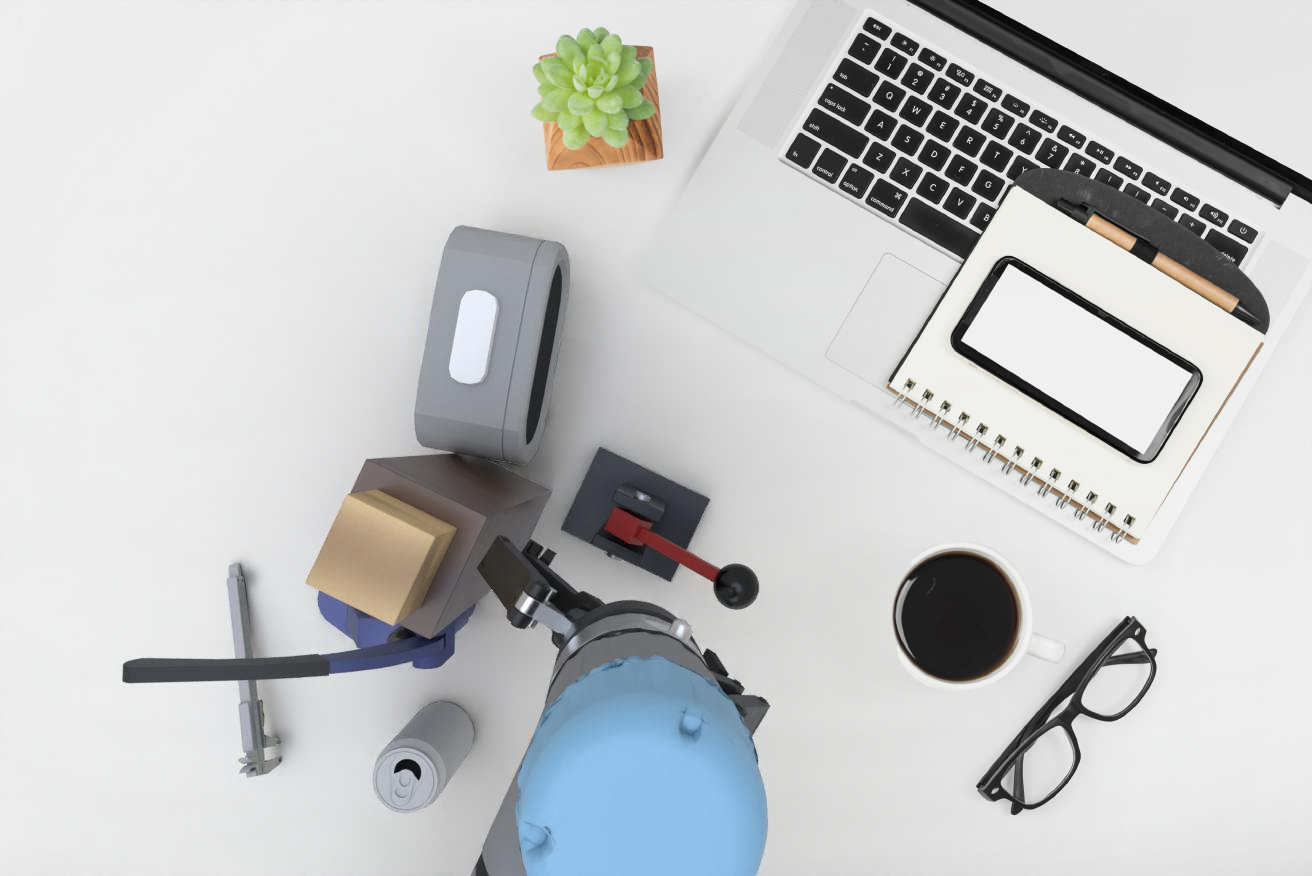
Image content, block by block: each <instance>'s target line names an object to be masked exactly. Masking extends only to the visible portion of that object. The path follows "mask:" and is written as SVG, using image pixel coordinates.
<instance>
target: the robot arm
mask: <svg viewBox="0 0 1312 876" xmlns="http://www.w3.org/2000/svg"><path fill="white" fill-rule="evenodd" d="M544 549H545V547H544V546H543V545H542V544H540V543H539V542H537V541H536V540H533V539H531V538H530V539H529V541H528V543H527V544H526V546H525V547H524V549H523V551H522V552H520V551H519V550H518V548H517V547H516V546H515V545H514V544H513V543H512V542H511V540H510V539H509V538H507V537H505V536H502V535H498V536H497V537H496V539H495V540H494V542H493V543H492V545H491V546H490V548H489V550H488V551H487V553H486V554H485V556H484V557H483V559H482V560H481V562H480V564H479V565H478V567H477V570H478V571H479V572H480V574H481V575H482V577H483V578H484V579H485V581H486V582H487V583H488V585H489V586H490V588H491V589H492V590H491V591H492V592H493V593H494V594H495V596H496V598H497V600H499V601H500V603H501V605H502V606H503V608H505V610H506V615H505V617H506V619H507V621H508V622H509V623H510V625H511V626H512V627H514V628H516V629H520V630H526V629H527V628H529V629H531V630H534V629H535V628H536V626H537V625H538V623H540V624H541V625H543V626H545V627H547V628H548V629H550V630H551V637H550V639H551V643H552V645H554V646H555V647H556V648H557V649H558V652H557V655H556V659H555V663H554V666H553V669H552V673H551V676H550V681H549V684H548V689H547V693H546V697H545V702H544V707H543V709H542V710H541V714H540V717H539V719H538V722H537V724H536V727H535V730H534V732H533V735H532V736H531V739H530V741H529V743H528V746H527V748H526V750H525V752H524V755H523V757H522V759H521V761H520V763H519V766H518V768H517V769H516V772H515V774H514V776H513V778H512V781H511V782H510V784H509V787H508V789H507V791H506V793H505V796H504V798H503V799H502V802H501V804H500V806H499V808H498V810H497V813H496V815H495V817H494V819H493V822H492V823H491V826H490V828H489V830H488V833H487V834H486V838H485V839H484V842H483V844H482V848H481V853H480V855H479V857H478V858H477V861H476V863H475V865H474V867H473V870H472V872H471V874H470V876H757V874H758V872H759V869H760V866H761V864H762V860H763V857H764V854H765V849H766V845H767V838H768V830H769V811H768V810H769V809H768V808H769V807H768V800H767V793H766V789H765V783H764V780H763V777H762V774H761V771H760V767H759V755H758V751H757V748H756V744H755V742H754V739H753V736H754V735H755V733H756V731H757V730H758V728H759V726H760V725H761V723H762V722H763V720H764V718H765V716H766V715H767V713H768V711H769V710H770V708H771V704H770V703H769V701H768V700H767V699H766V698H764V697H763V696H758V695H755V694H743V692H744V691H745V689H746V688H745V687H744V686H743V685H742V683H741V682H740V681H739V680H738V679H736V678H734V679H732V678H731V677H729V675H730V673H729V672H728V670H727V669H726V667H725V666H724V663H723V662H722V661H721V659H720V658H719V656H718V655H717V653H716V652H715V651H712V650H711V649H710V648H708V647H706V649H705V650H704V652H703V653H702V650H701V648H700V646H699V645H698V643H697V642H696V639H695V638H694V636H693V633H694V630H693V627H692V625H690V623H688V621H687V620H685V619H682V618H678V617H677V616H676V615H675V614H673V613H672V612H670V611H669V610H667V609H666V608H664V607H662V606H660V605H658V604H654V603H653V602H652V603H651V602H648V601H643V600H638V599H623V600H616V601H615V600H614V601H611V602H608V603H606V602H604V601H603V600H602V599H600V598H599V597H596V596H595V595H593V594H591V593H589V592H587V591H584V590H581V591H577V589H576V588H574V587H573V586H572V585H571V584H569V582H567V581H566V579H564V578H562V576H560V575H559V574H558V573H557V572H555V571H554V570H553V569H552V568H551V567H550V565H551V563H552V561H553V560H554V559H555V557H556V556H557V554H558V553H557V552H556V551H554V550H552V549H551V548H549V547H547V548H546V549H545V550H544ZM542 552H543V553H542ZM541 553H542V554H541Z"/></svg>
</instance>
